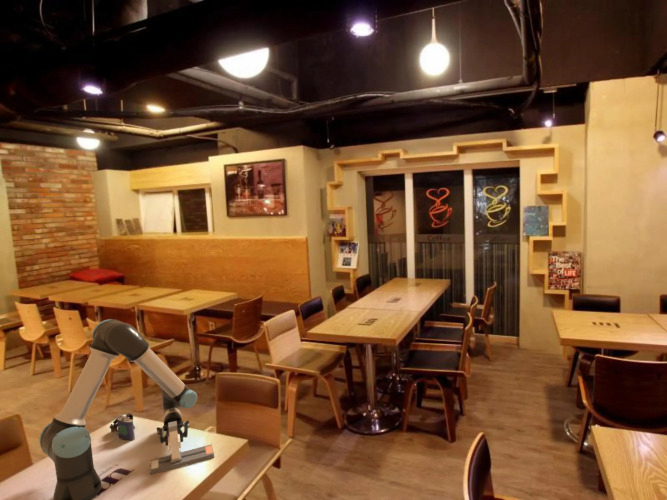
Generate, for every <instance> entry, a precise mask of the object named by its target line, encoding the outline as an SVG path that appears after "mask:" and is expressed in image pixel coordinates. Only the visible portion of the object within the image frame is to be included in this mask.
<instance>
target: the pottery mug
mask: <svg viewBox="0 0 667 500" xmlns="http://www.w3.org/2000/svg"><path fill="white" fill-rule="evenodd" d="M123 416H124V415H120V416H118V417H117V418H115V420H114V421H112V423H113V424H112V423H111V424H110V425H109V429H110V432H111V433H114V432H118V422H117V419H118V418H120V417H123ZM125 416H127V417H126V419H129V420H133V421H134V415H133V414H132V413H129V412H128V413H127V414H126V415H125ZM133 427H134V430H135V428H136V427H135V425H134V424H133Z"/></svg>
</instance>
